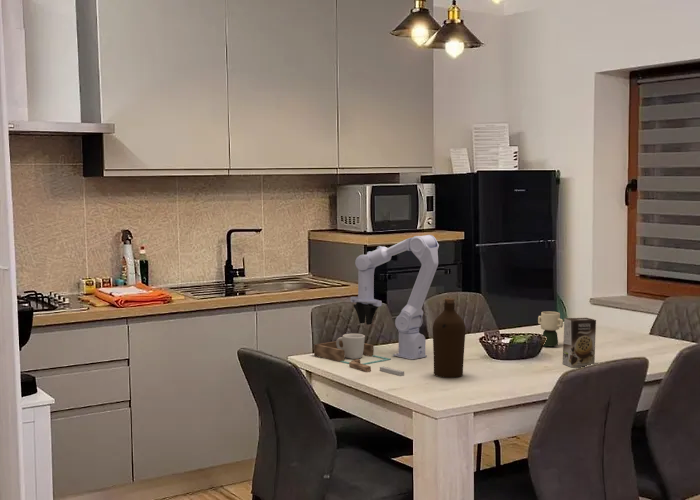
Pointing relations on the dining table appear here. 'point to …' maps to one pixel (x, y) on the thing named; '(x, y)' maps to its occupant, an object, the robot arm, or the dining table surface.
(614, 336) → the dining table surface
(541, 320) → the beige and green trophy
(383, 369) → the straight stick
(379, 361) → the bay
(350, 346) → the cup
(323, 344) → the cubby
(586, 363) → the cookie box
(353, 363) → the crook stick
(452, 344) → the olive oil
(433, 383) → the dining table surface
